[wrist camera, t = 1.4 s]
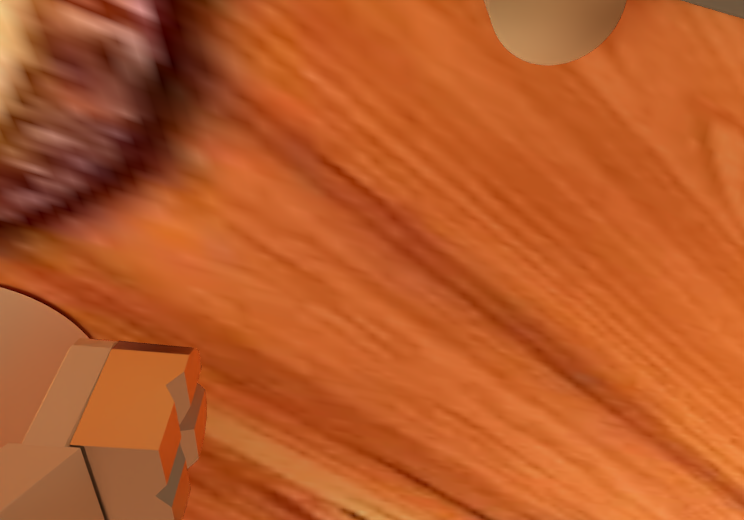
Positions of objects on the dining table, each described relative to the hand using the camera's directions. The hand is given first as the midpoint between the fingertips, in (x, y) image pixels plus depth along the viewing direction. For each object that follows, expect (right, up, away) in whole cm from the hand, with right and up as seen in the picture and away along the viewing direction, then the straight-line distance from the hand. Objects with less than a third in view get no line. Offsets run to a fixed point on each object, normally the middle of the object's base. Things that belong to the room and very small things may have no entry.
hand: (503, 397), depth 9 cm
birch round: (+5, +15, +21) cm, 27 cm away
